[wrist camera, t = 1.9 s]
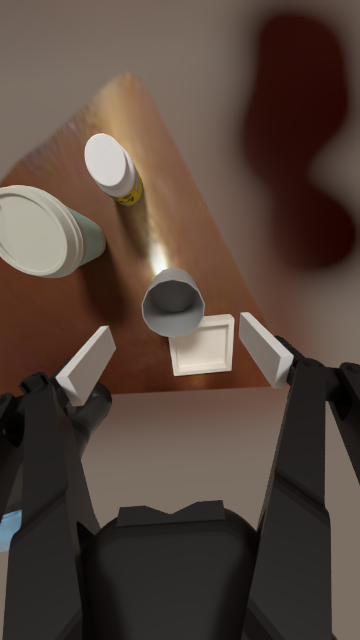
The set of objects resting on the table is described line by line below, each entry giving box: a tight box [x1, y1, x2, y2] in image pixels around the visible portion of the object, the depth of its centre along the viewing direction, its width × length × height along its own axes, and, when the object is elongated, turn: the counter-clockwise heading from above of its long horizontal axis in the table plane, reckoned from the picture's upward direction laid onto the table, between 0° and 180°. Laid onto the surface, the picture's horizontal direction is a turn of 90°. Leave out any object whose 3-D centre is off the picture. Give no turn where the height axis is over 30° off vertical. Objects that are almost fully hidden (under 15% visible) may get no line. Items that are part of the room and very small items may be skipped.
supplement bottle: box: [85, 134, 143, 207], centre depth 19 cm, size 5×5×8 cm
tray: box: [169, 314, 234, 376], centre depth 34 cm, size 13×13×2 cm
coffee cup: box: [0, 185, 106, 278], centre depth 20 cm, size 9×8×12 cm
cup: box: [142, 268, 205, 338], centre depth 26 cm, size 8×8×10 cm
